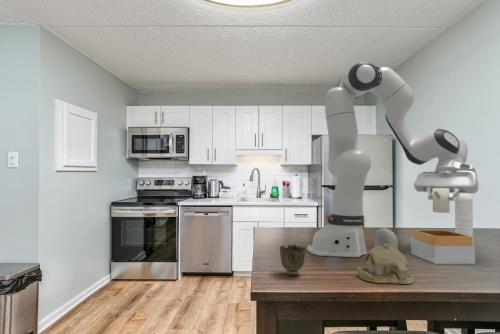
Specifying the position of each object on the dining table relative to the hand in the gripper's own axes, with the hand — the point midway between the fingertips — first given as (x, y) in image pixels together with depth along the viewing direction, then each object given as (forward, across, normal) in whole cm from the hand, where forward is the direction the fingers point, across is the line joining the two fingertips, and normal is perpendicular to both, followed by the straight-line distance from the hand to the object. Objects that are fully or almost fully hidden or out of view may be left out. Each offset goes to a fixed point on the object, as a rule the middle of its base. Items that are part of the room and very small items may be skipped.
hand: (440, 199), depth 113 cm
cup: (+54, -22, -24) cm, 63 cm away
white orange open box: (+14, +1, +16) cm, 21 cm away
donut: (+22, -15, +8) cm, 28 cm away
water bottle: (-9, -2, +40) cm, 41 cm away
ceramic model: (+42, -3, -12) cm, 43 cm away
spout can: (+4, 0, +3) cm, 5 cm away
